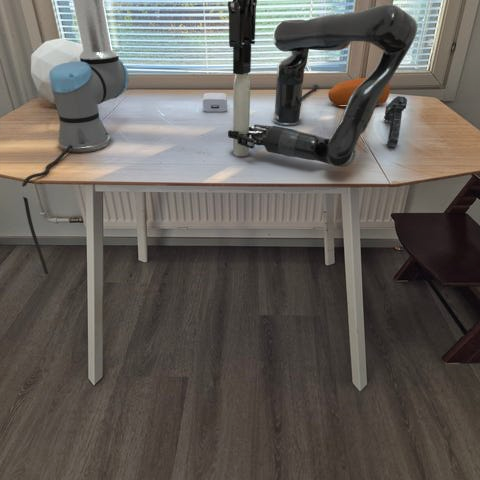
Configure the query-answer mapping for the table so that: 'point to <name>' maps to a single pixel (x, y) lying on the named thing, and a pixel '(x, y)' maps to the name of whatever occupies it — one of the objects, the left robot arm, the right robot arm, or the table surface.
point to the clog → (351, 92)
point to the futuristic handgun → (395, 118)
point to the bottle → (241, 111)
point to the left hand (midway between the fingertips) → (242, 71)
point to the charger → (215, 102)
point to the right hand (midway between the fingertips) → (233, 130)
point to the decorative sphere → (52, 62)
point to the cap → (246, 68)
